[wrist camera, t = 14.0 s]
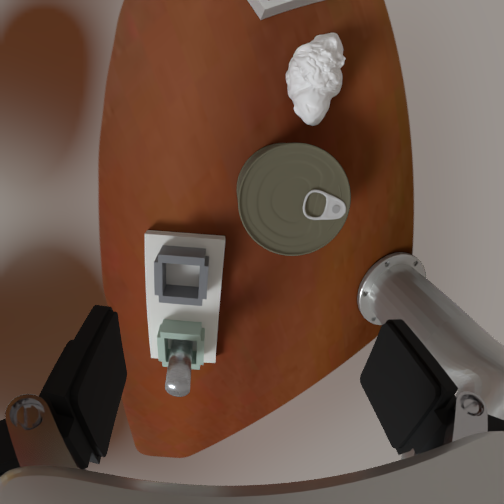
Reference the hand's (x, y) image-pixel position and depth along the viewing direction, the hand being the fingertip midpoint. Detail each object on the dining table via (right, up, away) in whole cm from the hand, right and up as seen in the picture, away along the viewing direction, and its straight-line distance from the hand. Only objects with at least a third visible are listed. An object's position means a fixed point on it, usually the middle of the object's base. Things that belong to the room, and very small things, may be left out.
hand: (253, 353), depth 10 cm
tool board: (-10, -3, +31) cm, 33 cm away
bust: (+7, +24, +22) cm, 33 cm away
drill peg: (-10, -9, +32) cm, 35 cm away
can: (+4, +11, +27) cm, 29 cm away
